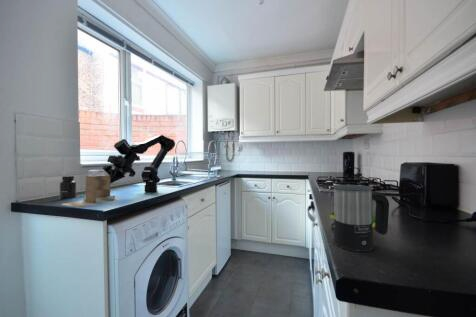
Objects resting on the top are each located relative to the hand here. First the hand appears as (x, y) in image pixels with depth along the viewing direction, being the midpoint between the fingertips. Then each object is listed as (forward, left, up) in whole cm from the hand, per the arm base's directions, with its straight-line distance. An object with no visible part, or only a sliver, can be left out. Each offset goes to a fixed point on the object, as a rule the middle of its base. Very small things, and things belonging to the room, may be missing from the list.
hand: (108, 183), depth 110 cm
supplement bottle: (+22, -8, -9) cm, 25 cm away
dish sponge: (-98, +52, -9) cm, 111 cm away
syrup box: (+13, -19, -9) cm, 25 cm away
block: (+3, +4, -8) cm, 9 cm away
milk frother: (-84, +66, -9) cm, 108 cm away
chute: (+4, +6, -9) cm, 12 cm away
